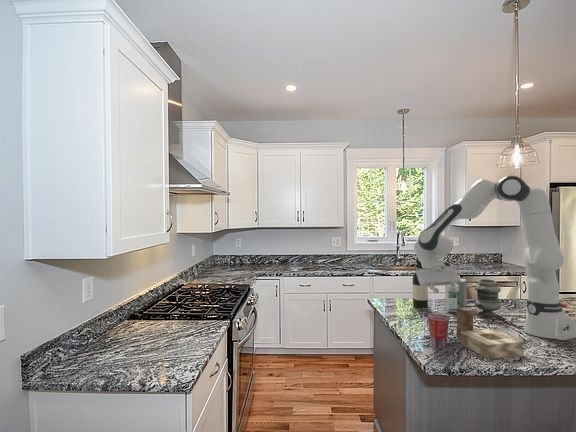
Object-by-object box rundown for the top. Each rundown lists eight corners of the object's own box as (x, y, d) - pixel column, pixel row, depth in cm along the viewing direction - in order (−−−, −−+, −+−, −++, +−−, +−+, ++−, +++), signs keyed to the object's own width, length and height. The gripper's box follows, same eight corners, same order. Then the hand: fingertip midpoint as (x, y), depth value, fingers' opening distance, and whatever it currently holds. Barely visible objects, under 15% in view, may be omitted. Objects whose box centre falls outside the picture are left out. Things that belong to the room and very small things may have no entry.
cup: (453, 346, 141) (452, 316, 141) (446, 352, 135) (445, 321, 135) (429, 340, 147) (429, 312, 147) (421, 346, 141) (421, 316, 141)
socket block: (492, 341, 146) (492, 329, 146) (523, 355, 131) (523, 341, 131) (460, 344, 143) (460, 331, 143) (488, 358, 128) (488, 344, 128)
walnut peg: (465, 334, 154) (465, 307, 154) (473, 338, 150) (473, 310, 150) (456, 335, 153) (456, 308, 153) (463, 339, 149) (463, 310, 149)
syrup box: (448, 311, 191) (447, 285, 191) (445, 309, 197) (444, 282, 197) (459, 312, 190) (459, 285, 190) (456, 309, 196) (455, 283, 196)
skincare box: (454, 304, 206) (454, 277, 206) (467, 306, 202) (467, 278, 202) (450, 307, 200) (450, 279, 200) (464, 309, 195) (463, 280, 195)
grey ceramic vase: (477, 317, 180) (476, 282, 180) (472, 311, 191) (472, 278, 191) (504, 319, 176) (503, 283, 176) (497, 312, 188) (497, 279, 188)
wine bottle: (423, 308, 198) (422, 255, 198) (409, 305, 204) (409, 253, 204) (431, 306, 203) (430, 253, 203) (417, 303, 209) (417, 252, 210)
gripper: (416, 264, 169) (428, 289, 159) (454, 263, 173) (468, 287, 163) (411, 272, 173) (422, 297, 164) (448, 271, 177) (461, 294, 168)
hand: (445, 292), depth 164 cm, fingers open, 8 cm apart
